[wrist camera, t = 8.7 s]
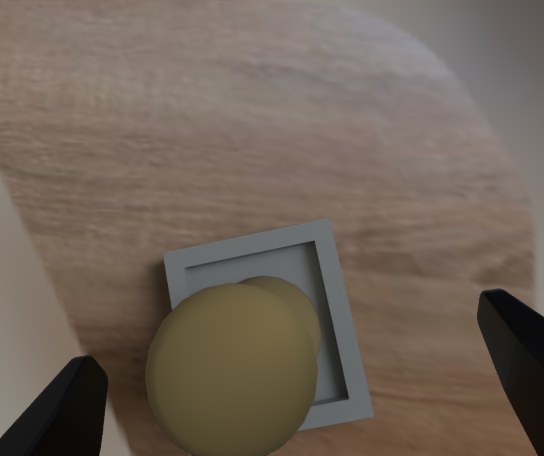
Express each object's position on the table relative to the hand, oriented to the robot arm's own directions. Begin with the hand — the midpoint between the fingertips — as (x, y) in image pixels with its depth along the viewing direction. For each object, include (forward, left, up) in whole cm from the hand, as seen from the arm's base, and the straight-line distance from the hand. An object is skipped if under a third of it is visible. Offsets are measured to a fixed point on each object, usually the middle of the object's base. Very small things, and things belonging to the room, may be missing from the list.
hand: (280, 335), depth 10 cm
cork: (-1, +2, -13) cm, 13 cm away
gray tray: (-1, +2, -14) cm, 14 cm away
